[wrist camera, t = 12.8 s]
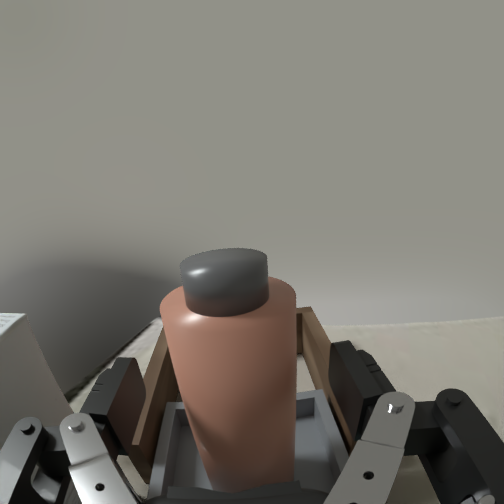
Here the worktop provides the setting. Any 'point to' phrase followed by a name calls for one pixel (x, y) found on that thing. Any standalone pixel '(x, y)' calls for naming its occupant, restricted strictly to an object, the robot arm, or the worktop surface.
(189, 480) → the tray
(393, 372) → the worktop surface
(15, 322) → the skincare box
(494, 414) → the worktop surface
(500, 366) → the worktop surface
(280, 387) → the bottle
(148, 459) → the wooden storage box
